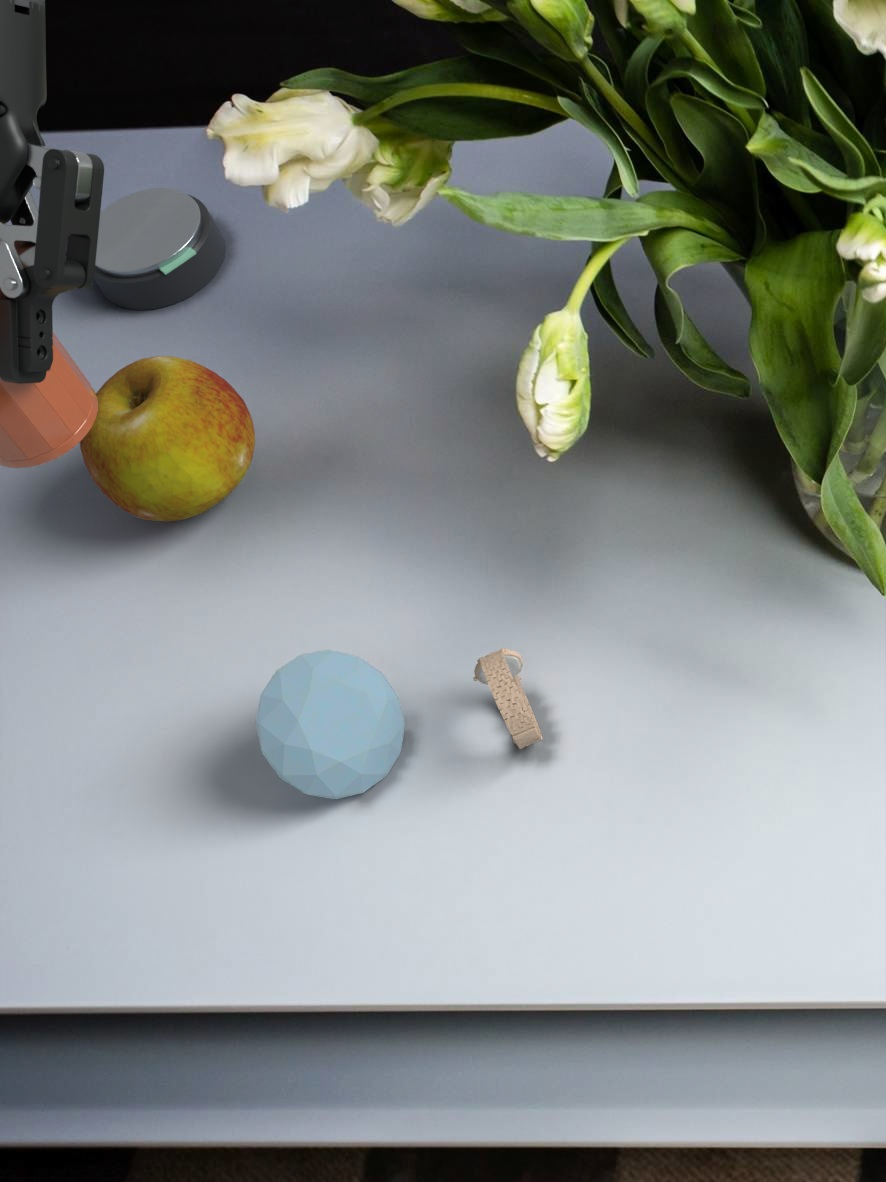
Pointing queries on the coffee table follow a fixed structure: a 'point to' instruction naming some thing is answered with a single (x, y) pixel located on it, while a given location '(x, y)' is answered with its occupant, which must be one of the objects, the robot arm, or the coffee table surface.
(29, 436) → the cup
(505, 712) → the wristwatch
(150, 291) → the scale
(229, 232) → the coffee table surface
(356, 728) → the gemstone
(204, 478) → the fruit
